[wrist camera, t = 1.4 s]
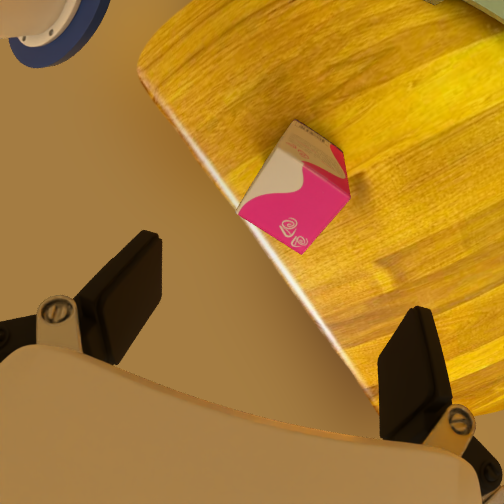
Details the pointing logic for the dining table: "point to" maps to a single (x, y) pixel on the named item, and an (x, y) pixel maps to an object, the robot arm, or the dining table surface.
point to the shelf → (484, 7)
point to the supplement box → (297, 188)
